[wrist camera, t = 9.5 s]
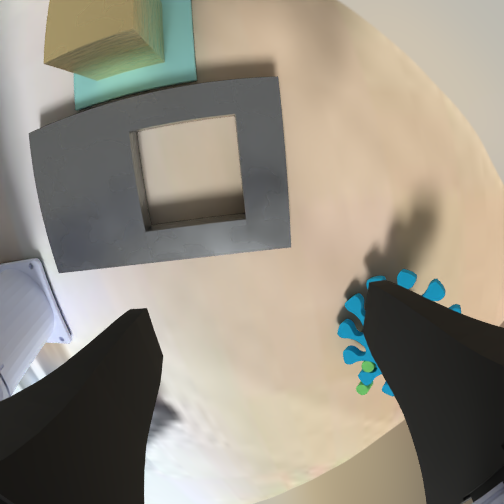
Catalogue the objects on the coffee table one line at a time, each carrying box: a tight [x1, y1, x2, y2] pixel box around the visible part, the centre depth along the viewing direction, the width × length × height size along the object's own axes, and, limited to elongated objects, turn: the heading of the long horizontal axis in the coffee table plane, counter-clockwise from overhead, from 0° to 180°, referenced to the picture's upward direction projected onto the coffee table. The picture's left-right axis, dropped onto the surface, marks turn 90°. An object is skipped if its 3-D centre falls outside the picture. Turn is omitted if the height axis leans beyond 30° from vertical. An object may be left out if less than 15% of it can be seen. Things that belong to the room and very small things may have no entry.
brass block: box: [44, 0, 165, 81], centre depth 10 cm, size 4×4×6 cm
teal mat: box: [74, 0, 197, 110], centre depth 13 cm, size 8×8×1 cm
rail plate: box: [29, 77, 291, 273], centre depth 16 cm, size 16×10×1 cm, turn 95°
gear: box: [337, 269, 461, 396], centre depth 20 cm, size 11×6×10 cm
